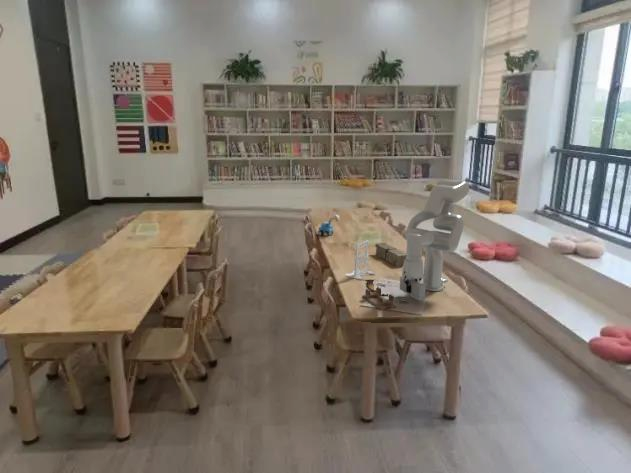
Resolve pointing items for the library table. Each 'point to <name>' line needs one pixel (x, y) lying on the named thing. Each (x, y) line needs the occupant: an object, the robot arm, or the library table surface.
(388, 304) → the rack
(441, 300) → the library table surface
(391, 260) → the grey-brown long block
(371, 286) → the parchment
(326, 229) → the toy excavator
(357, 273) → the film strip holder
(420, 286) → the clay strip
